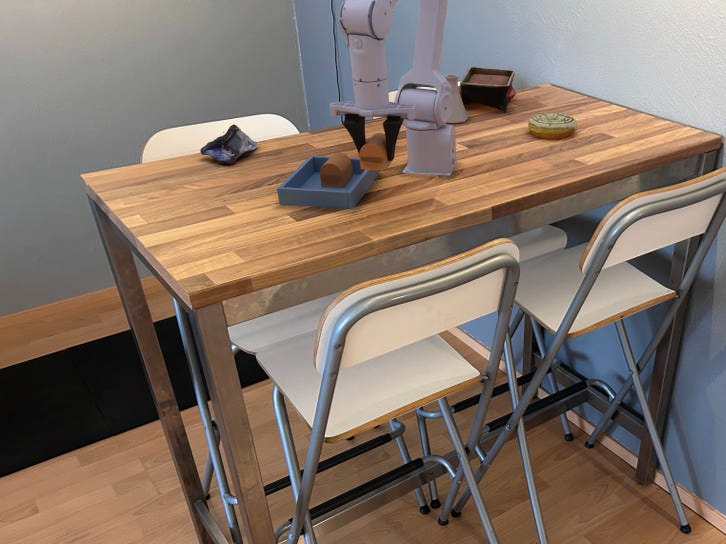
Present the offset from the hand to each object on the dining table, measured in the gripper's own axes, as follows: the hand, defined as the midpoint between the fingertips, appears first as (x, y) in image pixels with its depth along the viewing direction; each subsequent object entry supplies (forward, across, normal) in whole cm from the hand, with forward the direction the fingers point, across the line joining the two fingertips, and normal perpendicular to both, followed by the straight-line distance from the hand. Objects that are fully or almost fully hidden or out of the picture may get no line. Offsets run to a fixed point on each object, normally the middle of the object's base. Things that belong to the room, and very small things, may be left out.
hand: (377, 158), depth 129 cm
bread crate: (+8, -10, +4) cm, 14 cm away
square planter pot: (+8, +9, +64) cm, 65 cm away
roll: (+8, -10, +7) cm, 15 cm away
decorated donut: (+8, +27, +44) cm, 52 cm away
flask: (+8, +3, +50) cm, 51 cm away
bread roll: (+1, 0, 0) cm, 1 cm away
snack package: (+8, -37, +19) cm, 43 cm away
